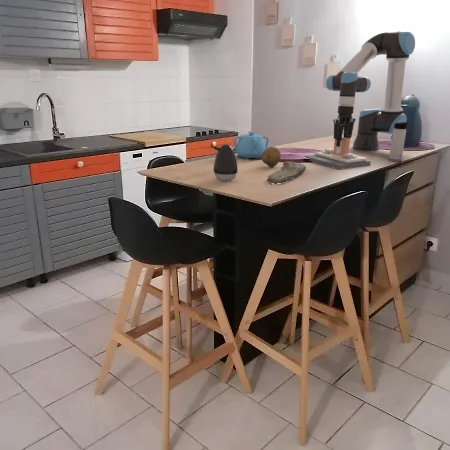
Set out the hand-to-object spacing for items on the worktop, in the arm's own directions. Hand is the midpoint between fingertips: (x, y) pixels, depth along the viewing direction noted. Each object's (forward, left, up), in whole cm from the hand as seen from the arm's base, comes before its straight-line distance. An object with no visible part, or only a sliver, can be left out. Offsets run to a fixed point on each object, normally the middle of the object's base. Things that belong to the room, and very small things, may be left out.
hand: (340, 152), depth 223 cm
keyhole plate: (-1, 0, -3) cm, 3 cm away
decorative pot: (+35, -30, -5) cm, 47 cm away
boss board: (+2, 0, -5) cm, 5 cm away
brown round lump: (+40, -6, -5) cm, 41 cm away
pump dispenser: (+72, +5, -5) cm, 73 cm away
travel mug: (-30, +10, -5) cm, 32 cm away
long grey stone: (+44, +12, -5) cm, 46 cm away
